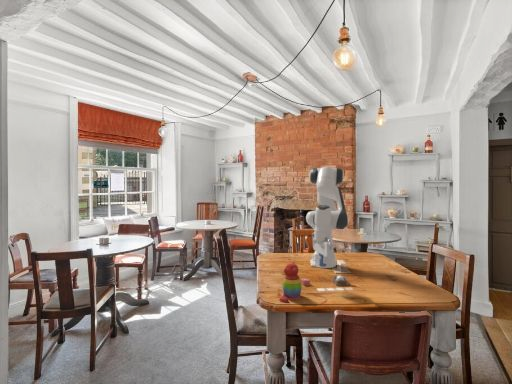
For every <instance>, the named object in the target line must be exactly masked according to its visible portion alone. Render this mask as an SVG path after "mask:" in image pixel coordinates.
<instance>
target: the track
mask: <svg viewBox="0 0 512 384" xmlns="http://www.w3.org/2000/svg"><path fill="white" fill-rule="evenodd" d="M315 289H316V290H317V291H318V292H326V291H329V292H333V291H334V292H335V291H338V292H339V291H345V290H346V291H354V289H353V288H352V287H351V286H350V287H334V288H333V287H326V288H324V287H323V288H322V287H321V288H320V287H319V288H315Z"/></svg>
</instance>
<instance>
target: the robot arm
mask: <svg viewBox="0 0 512 384" xmlns="http://www.w3.org/2000/svg"><path fill="white" fill-rule="evenodd" d="M308 178H309V180H310V182H311V183H312V184H313V185H314V184H315V185H316V191H317V196H316V197H317V198H316V199H317V201H316V202H317V203H318V205H317V206H316V207H315V210H311V211H308V212H307V213H306V216H305V221H306V223H307V225H308V226H310V227H311V228H312V229H313V231H314V232H312V233H311V237H312V248H313V250H314V253H313V254H311V259H310V261H309V262H310V265H311V267H316V268H322V269H331V268H335V267H336V265H337V264H338V263H336V259H337V258H336V253H335V252H334V249H335V247H334V244H333V242H334V239H333V233H332V231H333V230H332V229H338V230H344V229H346V228H347V227H348V226H349V223H350V222H349V215H348V213H347V209H346V206H345V205H346V204H345V200H344V197H343V194H342V193H343V192H342V190H341V188H339V187H338V186H337V185H340V184H342V183H343V181H344V178H345V174H344V171H343V169H342V168H339V167H330V166H324V167H313V168H311V169H310V171H309V174H308ZM335 203H336V205H335ZM336 206H337V207H336ZM320 254H322V255H323V257H324V258H323V263H324V264H326V267H321V266H319V256H320ZM337 266H338V265H337Z"/></svg>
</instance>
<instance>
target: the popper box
mask: <svg viewBox="0 0 512 384" xmlns="http://www.w3.org/2000/svg"><path fill="white" fill-rule="evenodd" d="M337 277H338V276H331V282H332V283H333V284H334V285H335V286H336V287H337V286H349V281H350V280H349V279H348V278H346V277H345V276H342V277H343V278H344V280H336V278H337Z"/></svg>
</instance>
